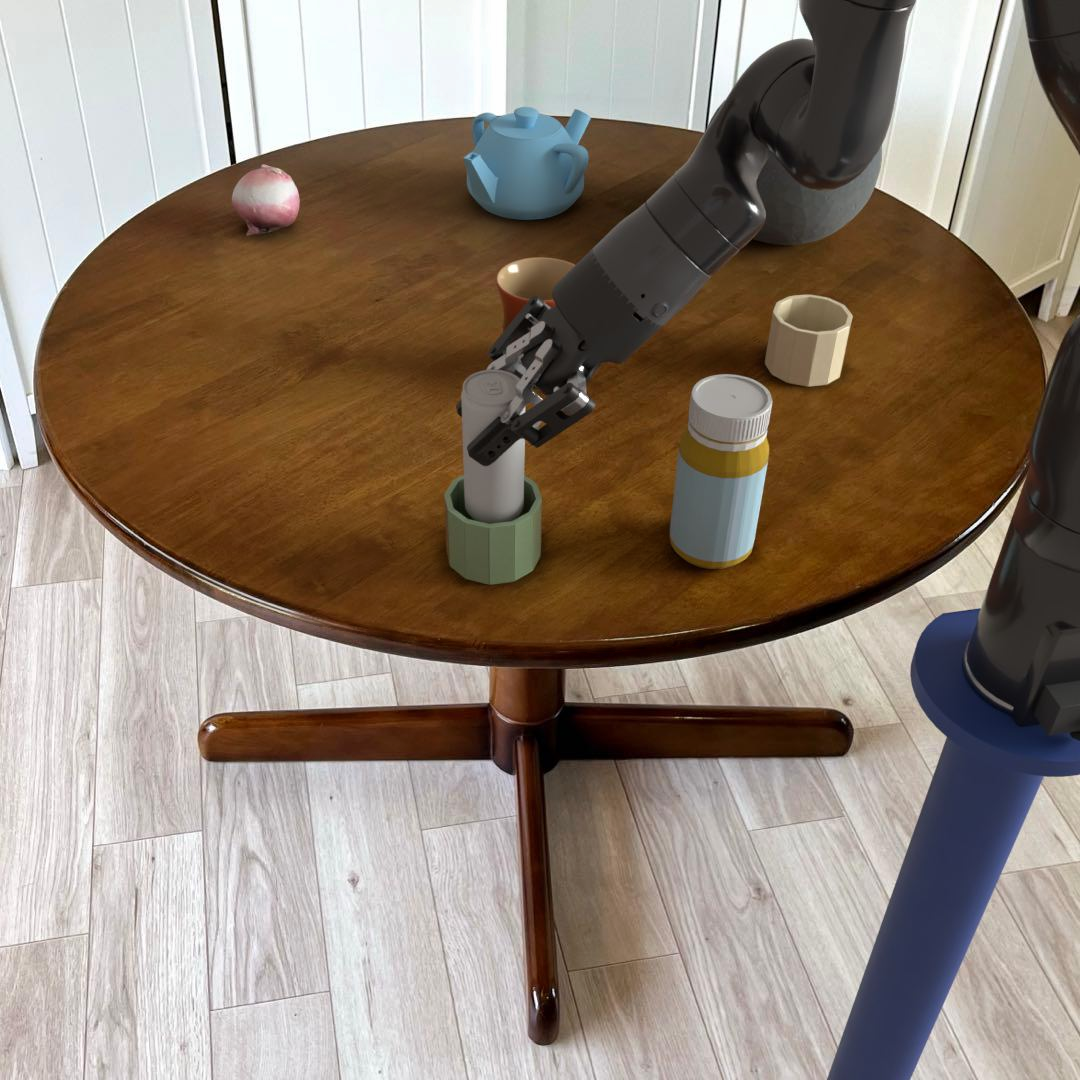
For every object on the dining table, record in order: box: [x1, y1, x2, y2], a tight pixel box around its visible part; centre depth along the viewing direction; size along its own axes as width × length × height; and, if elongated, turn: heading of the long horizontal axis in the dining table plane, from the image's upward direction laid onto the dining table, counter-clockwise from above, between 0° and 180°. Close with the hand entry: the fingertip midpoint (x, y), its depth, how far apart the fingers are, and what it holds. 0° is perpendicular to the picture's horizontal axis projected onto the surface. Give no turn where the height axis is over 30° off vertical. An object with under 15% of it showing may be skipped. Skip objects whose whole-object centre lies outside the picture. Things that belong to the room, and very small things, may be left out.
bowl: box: [705, 99, 883, 246], centre depth 143 cm, size 20×20×15 cm
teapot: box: [462, 106, 592, 221], centre depth 150 cm, size 15×17×11 cm
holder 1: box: [443, 474, 543, 586], centre depth 100 cm, size 8×8×6 cm
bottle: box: [669, 373, 773, 570], centre depth 99 cm, size 7×7×15 cm
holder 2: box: [764, 293, 854, 388], centre depth 123 cm, size 8×8×6 cm
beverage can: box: [460, 369, 526, 524], centre depth 96 cm, size 5×5×12 cm
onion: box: [231, 163, 301, 237], centre depth 144 cm, size 8×8×7 cm
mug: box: [495, 256, 576, 372], centre depth 121 cm, size 12×9×10 cm
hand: (470, 436), depth 94 cm, fingers closed on beverage can, 5 cm apart
